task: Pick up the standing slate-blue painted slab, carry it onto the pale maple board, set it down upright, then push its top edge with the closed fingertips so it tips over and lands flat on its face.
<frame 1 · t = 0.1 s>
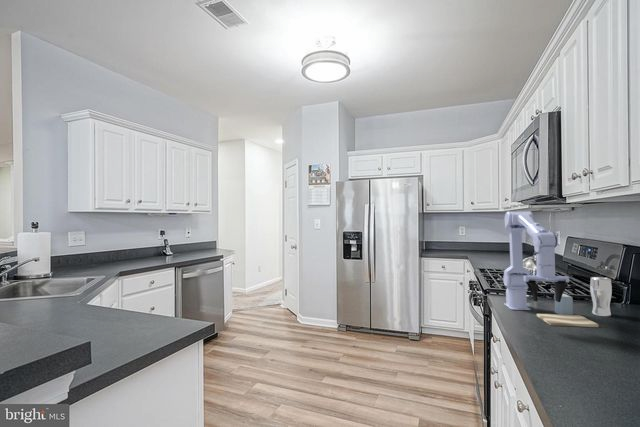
hand: (546, 301, 124), 10 cm above the countertop, fingers open, 7 cm apart
slab: (563, 314, 140), on the countertop
board: (565, 321, 131), on the countertop
beer glass: (601, 314, 139), on the countertop
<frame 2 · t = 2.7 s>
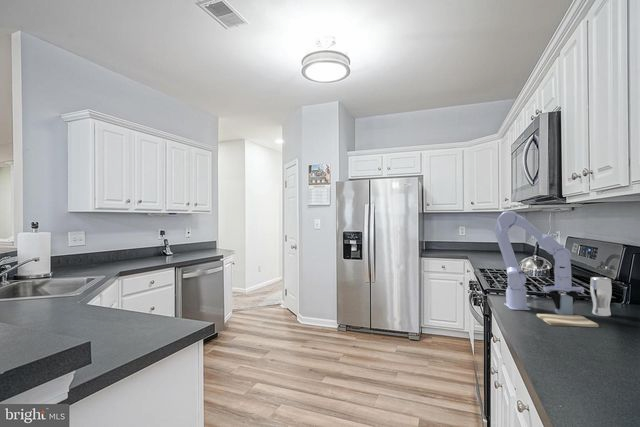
hand: (563, 309, 140), 2 cm above the countertop, fingers closed on slab, 4 cm apart
slab: (563, 314, 140), on the countertop, touching gripper
everything else where it was.
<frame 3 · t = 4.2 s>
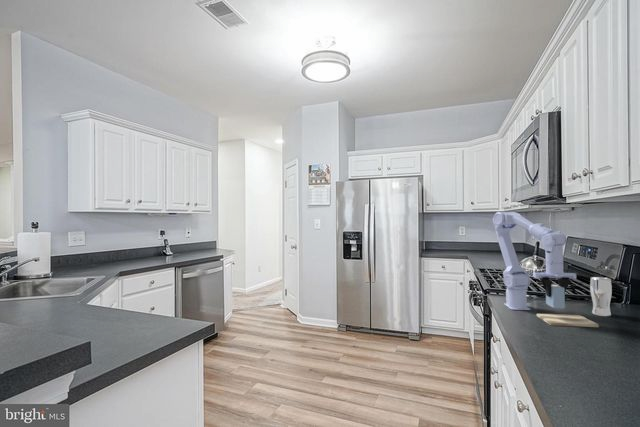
hand: (555, 296, 133), 9 cm above the countertop, fingers closed on slab, 4 cm apart
slab: (555, 306, 133), point 6 cm above the countertop, touching gripper
everything else where it was.
when the fingers open (4 cm above the countertop, at t = 5.8 s): slab stays where it is, resting on board.
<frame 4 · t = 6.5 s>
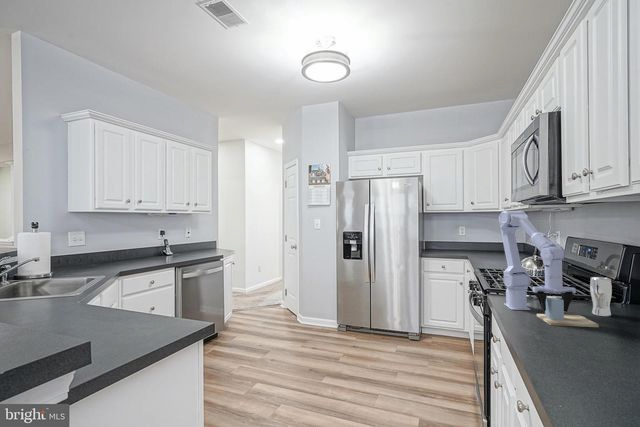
hand: (554, 310, 132), 4 cm above the countertop, fingers open, 7 cm apart
slab: (554, 318, 132), point 1 cm above the countertop, touching board
everything else where it was.
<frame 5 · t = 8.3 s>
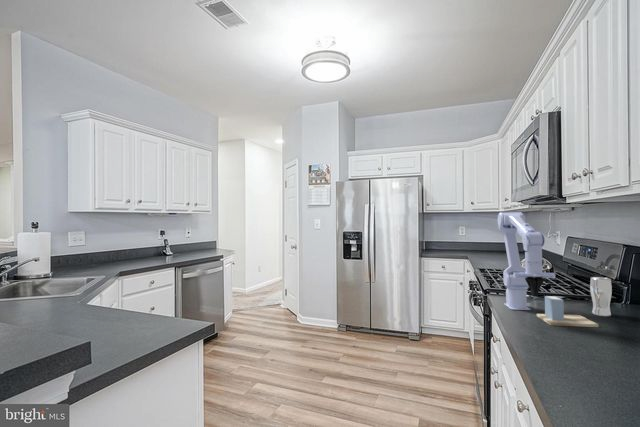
hand: (534, 296, 133), 10 cm above the countertop, fingers closed
nothing on the countertop moved.
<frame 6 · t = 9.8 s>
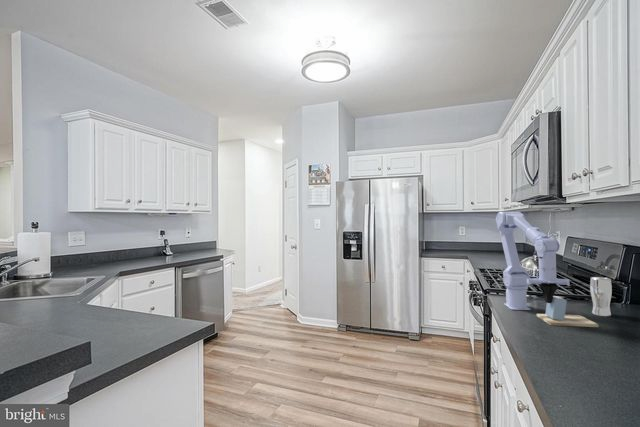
hand: (548, 302, 132), 7 cm above the countertop, fingers closed
slab: (554, 317, 132), point 1 cm above the countertop, tilted 9°, touching board, gripper
everything else where it was.
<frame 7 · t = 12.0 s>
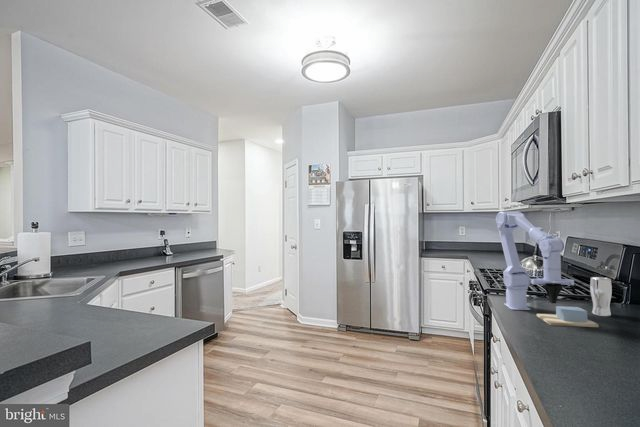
hand: (552, 302, 132), 7 cm above the countertop, fingers closed
slab: (559, 313, 132), point 3 cm above the countertop, tilted 90°, touching board
everything else where it was.
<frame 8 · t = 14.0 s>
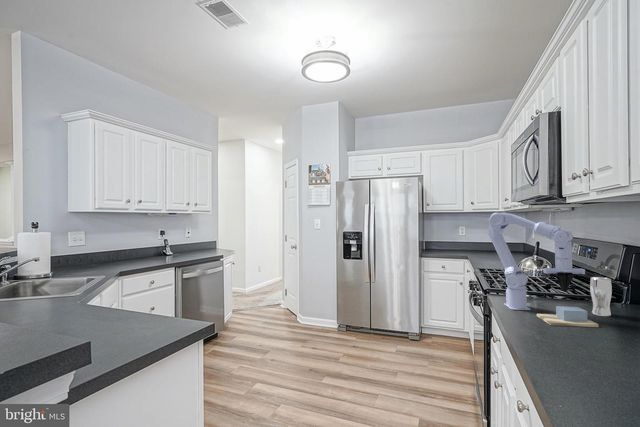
hand: (564, 291, 138), 10 cm above the countertop, fingers closed
nothing on the countertop moved.
at the end: slab tilted 90°; slab inside the target area on the board (2.0 cm from its centre), point 3.0 cm above the board's base; the gripper is holding nothing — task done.
